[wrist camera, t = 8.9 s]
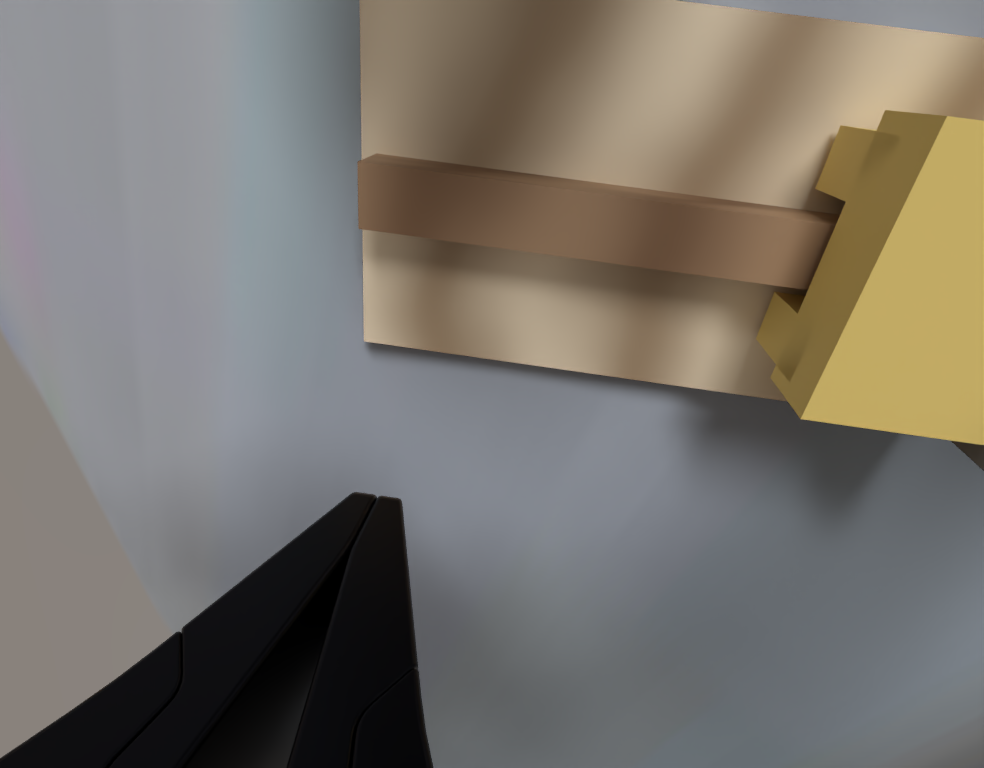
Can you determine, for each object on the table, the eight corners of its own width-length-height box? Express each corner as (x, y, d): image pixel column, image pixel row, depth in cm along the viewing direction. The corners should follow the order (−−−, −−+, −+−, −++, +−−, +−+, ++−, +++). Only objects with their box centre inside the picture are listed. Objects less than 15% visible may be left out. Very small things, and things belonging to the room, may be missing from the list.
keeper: (1058, 132, 15) (1230, 152, 12) (916, 374, 19) (1008, 448, 16) (848, 106, 16) (946, 116, 12) (751, 351, 20) (800, 419, 16)
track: (1154, 63, 15) (1459, 57, 10) (935, 410, 21) (1058, 516, 16) (369, -32, 16) (283, -85, 11) (371, 330, 22) (316, 409, 17)
